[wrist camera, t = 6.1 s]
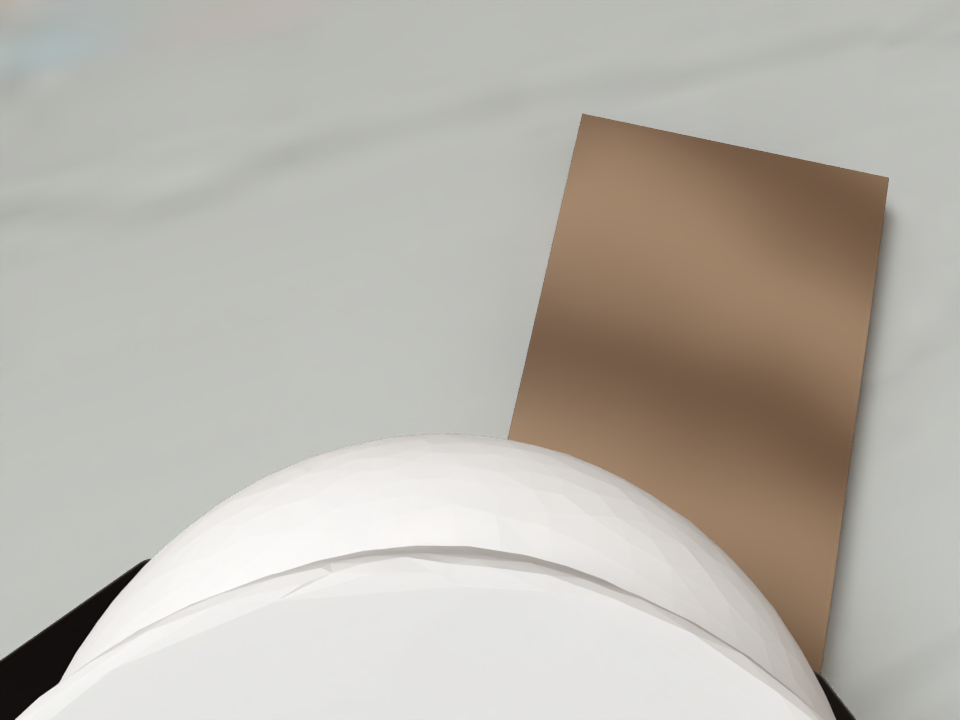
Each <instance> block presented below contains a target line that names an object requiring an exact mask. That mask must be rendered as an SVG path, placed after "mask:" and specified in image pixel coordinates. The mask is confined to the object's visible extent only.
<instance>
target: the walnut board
mask: <svg viewBox="0 0 960 720" xmlns="http://www.w3.org/2000/svg"><path fill="white" fill-rule="evenodd" d="M888 182H889V178H888V177H883V176H878V175H873V174H868V173H864V172H859V171H854V170H849V169H845V168H840V167H835V166H830V165H825V164H821V163H816V162H811V161H806V160H801V159H797V158H792V157H787V156H782V155H778V154H773V153H768V152H763V151H758V150H754V149H749V148H744V147H739V146H734V145H730V144H725V143H720V142H715V141H711V140H706V139H701V138H696V137H691V136H687V135H682V134H677V133H672V132H668V131H663V130H658V129H653V128H648V127H644V126H639V125H634V124H629V123H624V122H620V121H615V120H610V119H605V118H601V117H596V116H591V115H586V114H582V117H581V122H580V126H579V130H578V135H577V139H576V144H575V148H574V152H573V157H572V161H571V165H570V170H569V174H568V178H567V183H566V187H565V191H564V196H563V200H562V205H561V209H560V213H559V218H558V222H557V226H556V231H555V235H554V239H553V244H552V248H551V252H550V257H549V261H548V266H547V270H546V274H545V279H544V283H543V287H542V292H541V296H540V300H539V305H538V309H537V314H536V318H535V322H534V327H533V331H532V335H531V340H530V344H529V348H528V353H527V357H526V361H525V366H524V370H523V375H522V379H521V383H520V388H519V392H518V396H517V401H516V405H515V409H514V414H513V418H512V423H511V427H510V431H509V436H508V440H512V441H516V442H521V443H526V444H530V445H535V446H539V447H543V448H547V449H550V450H554V451H558V452H561V453H565V454H568V455H570V456H573V457H575V458H578V459H580V460H583V461H585V462H588V463H590V464H593V465H595V466H598V467H600V468H602V469H604V470H606V471H608V472H610V473H612V474H614V475H616V476H618V477H621V478H623V479H625V480H626V481H628V482H630V483H632V484H633V485H635V486H637V487H639V488H640V489H642V490H644V491H645V492H647V493H649V494H650V495H652V496H653V497H655V498H656V499H658V500H660V501H661V502H663V503H664V504H666V505H667V506H669V507H670V508H671V509H673V510H674V511H676V512H677V513H679V514H680V515H682V516H683V517H685V518H686V519H688V520H689V521H690V522H692V523H693V524H694V525H695V526H696V527H697V528H698V529H699V530H701V531H702V532H703V533H704V534H705V535H706V536H707V537H708V538H709V539H711V540H712V541H713V542H714V543H715V544H716V545H717V546H719V547H720V548H721V549H722V550H723V551H724V552H725V553H726V554H727V555H728V556H729V557H730V558H731V559H732V560H733V561H734V562H735V563H736V564H737V566H738V567H739V568H740V569H741V570H742V571H743V572H744V573H745V574H746V575H747V577H748V578H749V579H750V580H751V581H752V582H753V583H754V584H755V585H756V587H757V588H758V589H759V590H760V592H761V593H762V594H763V595H764V596H765V598H766V599H767V600H768V601H769V603H770V604H771V605H772V606H773V607H774V609H775V610H776V612H777V613H778V615H779V616H780V618H781V619H782V621H783V623H784V624H785V626H786V627H787V629H788V630H789V632H790V633H791V635H792V636H793V638H794V640H795V641H796V643H797V644H798V646H799V647H800V649H801V651H802V652H803V654H804V656H805V658H806V660H807V661H808V663H809V665H810V667H811V669H812V670H814V671H816V672H818V673H819V674H820V675H821V669H822V661H823V654H824V647H825V640H826V632H827V625H828V618H829V610H830V603H831V596H832V589H833V581H834V574H835V567H836V560H837V552H838V545H839V538H840V531H841V523H842V516H843V509H844V502H845V494H846V487H847V480H848V472H849V465H850V458H851V451H852V443H853V436H854V429H855V422H856V414H857V407H858V400H859V393H860V385H861V378H862V371H863V364H864V356H865V349H866V342H867V334H868V327H869V320H870V313H871V305H872V298H873V291H874V284H875V276H876V269H877V262H878V255H879V247H880V240H881V233H882V226H883V218H884V211H885V204H886V197H887V189H888Z"/></svg>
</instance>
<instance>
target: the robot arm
mask: <svg viewBox="0 0 960 720" xmlns="http://www.w3.org/2000/svg"><path fill="white" fill-rule="evenodd" d="M150 560H151V559H147V560H144V561H142V562H140V563H139V564H137V565H136V566H134V567H133V568H132V569H130V570H129V571H127V572H126V573H124V574H123V575H122V576H120V577H119V578H117V579H116V580H114V581H113V582H112V583H110V584H109V585H107V586H106V587H104V588H103V589H102V590H100V591H99V592H97V593H96V594H94V595H93V596H92V597H90V598H89V599H87V600H86V601H84V602H83V603H82V604H80V605H79V606H77V607H76V608H74V609H73V610H72V611H70V612H69V613H67V614H66V615H64V616H63V617H62V618H60V619H59V620H57V621H56V622H54V623H53V624H52V625H50V626H49V627H47V628H46V629H45V630H43V631H42V632H40V633H39V634H37V635H36V636H35V637H33V638H32V639H30V640H29V641H27V642H26V643H25V644H23V645H22V646H20V647H19V648H17V649H16V650H15V651H13V652H12V653H10V654H9V655H7V656H6V657H5V658H3V659H2V660H0V720H15V719H16V718H17V717H18V716H19V715H21V714H22V713H23V712H24V711H25V710H26V709H27V708H28V707H29V706H30V705H31V704H32V703H34V702H35V701H36V700H37V699H38V698H39V697H40V696H42V695H43V694H45V693H46V692H47V691H49V690H50V689H52V688H53V687H55V686H56V685H57V684H59V682H60V681H61V679H62V677H63V675H64V673H65V672H66V670H67V668H68V666H69V664H70V663H71V661H72V659H73V657H74V655H75V654H76V652H77V651H78V649H79V648H80V646H81V645H82V644H83V642H84V641H85V639H86V638H87V636H88V635H89V633H90V632H91V631H92V629H93V628H94V626H95V625H96V623H97V622H98V621H99V619H100V618H101V617H102V615H103V614H104V613H105V611H106V610H107V608H108V607H109V606H110V604H111V603H112V602H113V601H114V599H115V598H116V597H117V596H118V595H119V594H120V592H121V591H122V590H123V589H124V588H125V587H126V586H127V585H128V583H129V582H130V581H131V580H132V579H133V578H134V577H135V576H136V575H137V574H138V572H139V571H140V570H141V569H142V568H143V567H144V566H145V565H146V564H147V563H148V562H149V561H150ZM813 672H814V674H815V676H816V678H817V680H818V682H819V684H820V686H821V687H822V689H823V691H824V693H825V695H826V697H827V700H828V702H829V704H830V707H831V709H832V711H833V713H834V716H835V718H836V720H856V719H855V718H854V716H853V715H852V714H851V712H850V711H849V710H848V709H847V707H846V706H845V705H844V703H843V702H842V701H841V700H840V698H839V697H838V696H837V694H836V693H835V692H834V691H833V689H832V688H831V687H830V685H829V684H828V683H827V682H826V680H825V679H824V678H823V677H822V676H821V675H820V674H819V673H818V672H816V671H814V670H813Z"/></svg>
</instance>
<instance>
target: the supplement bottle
mask: <svg viewBox="0 0 960 720" xmlns="http://www.w3.org/2000/svg"><path fill="white" fill-rule="evenodd" d="M15 720H836V718H835V716H834V713H833V711H832V709H831V707H830V704H829V702H828V700H827V697H826V695H825V693H824V691H823V689H822V687H821V686H820V684H819V682H818V680H817V678H816V676H815V674H814V672H813V670H812V669H811V667H810V665H809V663H808V661H807V660H806V658H805V656H804V654H803V652H802V651H801V649H800V647H799V646H798V644H797V643H796V641H795V640H794V638H793V636H792V635H791V633H790V632H789V630H788V629H787V627H786V626H785V624H784V623H783V621H782V619H781V618H780V616H779V615H778V613H777V612H776V610H775V609H774V607H773V606H772V605H771V604H770V603H769V601H768V600H767V599H766V598H765V596H764V595H763V594H762V593H761V592H760V590H759V589H758V588H757V587H756V585H755V584H754V583H753V582H752V581H751V580H750V579H749V578H748V577H747V575H746V574H745V573H744V572H743V571H742V570H741V569H740V568H739V567H738V566H737V564H736V563H735V562H734V561H733V560H732V559H731V558H730V557H729V556H728V555H727V554H726V553H725V552H724V551H723V550H722V549H721V548H720V547H719V546H717V545H716V544H715V543H714V542H713V541H712V540H711V539H709V538H708V537H707V536H706V535H705V534H704V533H703V532H702V531H701V530H699V529H698V528H697V527H696V526H695V525H694V524H693V523H692V522H690V521H689V520H688V519H686V518H685V517H683V516H682V515H680V514H679V513H677V512H676V511H674V510H673V509H671V508H670V507H669V506H667V505H666V504H664V503H663V502H661V501H660V500H658V499H656V498H655V497H653V496H652V495H650V494H649V493H647V492H645V491H644V490H642V489H640V488H639V487H637V486H635V485H633V484H632V483H630V482H628V481H626V480H625V479H623V478H621V477H618V476H616V475H614V474H612V473H610V472H608V471H606V470H604V469H602V468H600V467H598V466H595V465H593V464H590V463H588V462H585V461H583V460H580V459H578V458H575V457H573V456H570V455H568V454H565V453H561V452H558V451H554V450H550V449H547V448H543V447H539V446H535V445H530V444H526V443H521V442H516V441H512V440H506V439H499V438H492V437H485V436H475V435H462V434H449V433H448V434H421V435H409V436H399V437H393V438H386V439H380V440H375V441H369V442H364V443H359V444H354V445H351V446H347V447H343V448H340V449H336V450H333V451H329V452H326V453H323V454H320V455H317V456H314V457H311V458H308V459H305V460H302V461H300V462H298V463H296V464H293V465H291V466H289V467H287V468H284V469H282V470H280V471H277V472H275V473H273V474H271V475H268V476H266V477H264V478H262V479H260V480H259V481H257V482H255V483H253V484H252V485H250V486H248V487H246V488H245V489H243V490H241V491H240V492H238V493H236V494H235V495H233V496H231V497H230V498H228V499H226V500H225V501H223V502H221V503H220V504H218V505H217V506H216V507H214V508H213V509H212V510H210V511H209V512H208V513H206V514H205V515H204V516H202V517H201V518H200V519H198V520H197V521H196V522H194V523H193V524H192V525H190V526H189V527H187V528H186V529H185V530H183V531H182V532H181V533H180V534H179V535H178V536H177V537H175V538H174V539H173V540H172V541H171V542H170V543H169V544H168V545H166V546H165V547H164V548H163V549H162V550H161V551H160V552H159V553H158V554H156V555H155V556H154V557H153V558H152V559H151V560H150V561H149V562H148V563H147V564H146V565H145V566H144V567H143V568H142V569H141V570H140V571H139V572H138V574H137V575H136V576H135V577H134V578H133V579H132V580H131V581H130V582H129V583H128V585H127V586H126V587H125V588H124V589H123V590H122V591H121V592H120V594H119V595H118V596H117V597H116V598H115V599H114V601H113V602H112V603H111V604H110V606H109V607H108V608H107V610H106V611H105V613H104V614H103V615H102V617H101V618H100V619H99V621H98V622H97V623H96V625H95V626H94V628H93V629H92V631H91V632H90V633H89V635H88V636H87V638H86V639H85V641H84V642H83V644H82V645H81V646H80V648H79V649H78V651H77V652H76V654H75V655H74V657H73V659H72V661H71V663H70V664H69V666H68V668H67V670H66V672H65V673H64V675H63V677H62V679H61V681H60V682H59V684H57V685H56V686H55V687H53V688H52V689H50V690H49V691H47V692H46V693H45V694H43V695H42V696H40V697H39V698H38V699H37V700H36V701H35V702H34V703H32V704H31V705H30V706H29V707H28V708H27V709H26V710H25V711H24V712H23V713H22V714H21V715H19V716H18V717H17V718H16V719H15Z"/></svg>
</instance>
